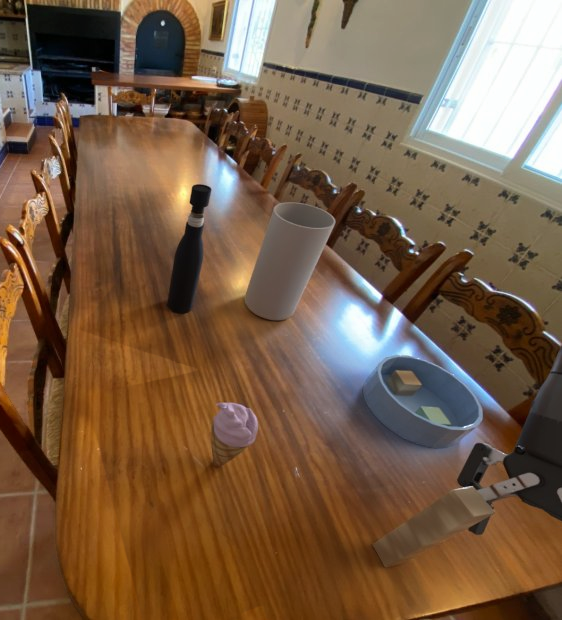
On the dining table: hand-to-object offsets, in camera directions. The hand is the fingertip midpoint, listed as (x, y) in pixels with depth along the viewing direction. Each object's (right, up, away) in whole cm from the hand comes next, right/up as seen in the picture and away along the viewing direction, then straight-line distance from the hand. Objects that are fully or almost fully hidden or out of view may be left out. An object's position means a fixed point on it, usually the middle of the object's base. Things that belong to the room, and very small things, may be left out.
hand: (523, 561), depth 39 cm
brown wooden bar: (-7, -7, +11) cm, 15 cm away
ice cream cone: (-29, +3, +20) cm, 35 cm away
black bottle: (-32, +29, +50) cm, 66 cm away
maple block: (+11, +12, +33) cm, 37 cm away
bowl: (+11, +9, +31) cm, 33 cm away
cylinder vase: (-9, +29, +52) cm, 60 cm away
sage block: (+11, +6, +27) cm, 30 cm away
